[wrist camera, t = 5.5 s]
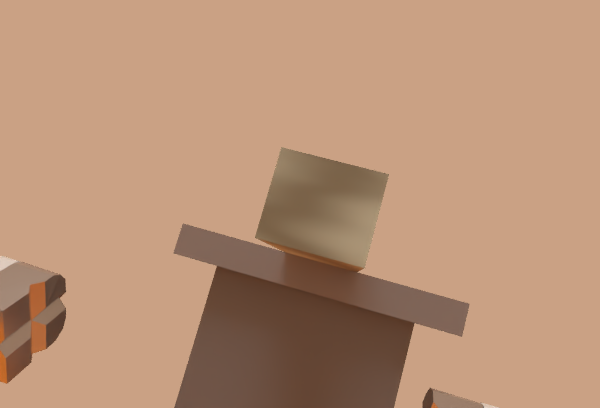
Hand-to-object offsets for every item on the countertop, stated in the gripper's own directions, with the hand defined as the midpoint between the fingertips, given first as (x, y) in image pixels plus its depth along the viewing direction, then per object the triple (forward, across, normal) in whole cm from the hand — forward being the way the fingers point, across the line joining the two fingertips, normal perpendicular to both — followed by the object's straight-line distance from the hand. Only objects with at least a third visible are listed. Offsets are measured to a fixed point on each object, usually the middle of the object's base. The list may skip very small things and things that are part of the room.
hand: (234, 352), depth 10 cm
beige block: (+13, +1, -5) cm, 14 cm away
